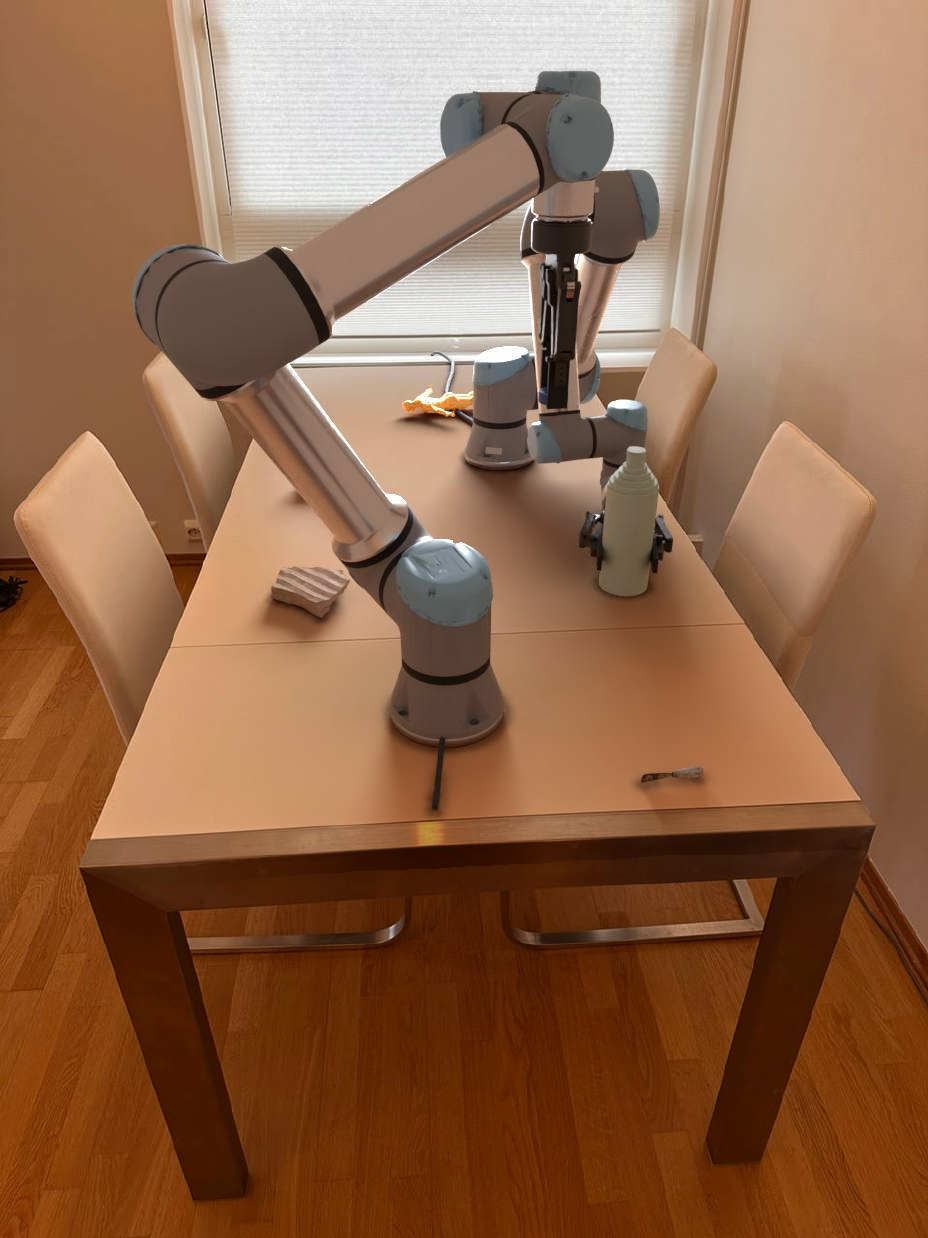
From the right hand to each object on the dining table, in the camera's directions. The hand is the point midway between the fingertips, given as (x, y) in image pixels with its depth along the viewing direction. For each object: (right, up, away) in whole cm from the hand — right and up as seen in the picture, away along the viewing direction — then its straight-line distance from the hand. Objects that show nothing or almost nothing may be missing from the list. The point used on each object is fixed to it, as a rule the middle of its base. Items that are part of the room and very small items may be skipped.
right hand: (627, 564), depth 143 cm
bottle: (+1, -3, +7) cm, 8 cm away
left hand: (-14, +21, -21) cm, 33 cm away
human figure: (-30, +44, +83) cm, 98 cm away
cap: (-14, +22, -21) cm, 34 cm away
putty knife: (-1, -29, -34) cm, 44 cm away
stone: (-52, -5, +4) cm, 52 cm away
